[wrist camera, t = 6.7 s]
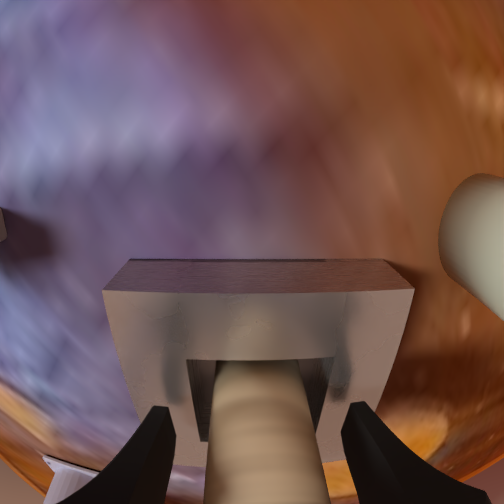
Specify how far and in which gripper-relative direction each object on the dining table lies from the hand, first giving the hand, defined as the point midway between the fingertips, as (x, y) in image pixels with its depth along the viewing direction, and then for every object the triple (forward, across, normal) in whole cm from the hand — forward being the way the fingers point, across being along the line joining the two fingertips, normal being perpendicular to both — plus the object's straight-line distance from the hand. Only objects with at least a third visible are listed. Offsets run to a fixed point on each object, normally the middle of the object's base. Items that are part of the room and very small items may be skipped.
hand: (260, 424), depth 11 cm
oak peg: (+4, 0, 0) cm, 4 cm away
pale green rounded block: (+4, -12, -7) cm, 14 cm away
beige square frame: (+4, 0, 0) cm, 4 cm away
